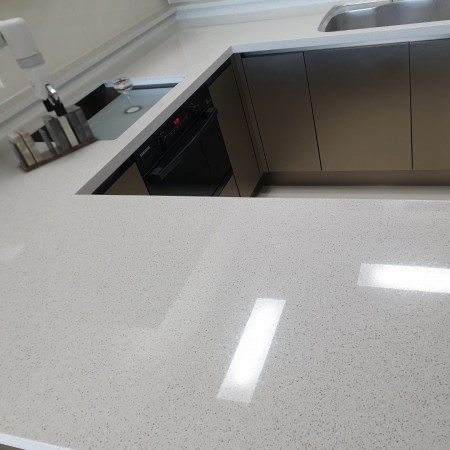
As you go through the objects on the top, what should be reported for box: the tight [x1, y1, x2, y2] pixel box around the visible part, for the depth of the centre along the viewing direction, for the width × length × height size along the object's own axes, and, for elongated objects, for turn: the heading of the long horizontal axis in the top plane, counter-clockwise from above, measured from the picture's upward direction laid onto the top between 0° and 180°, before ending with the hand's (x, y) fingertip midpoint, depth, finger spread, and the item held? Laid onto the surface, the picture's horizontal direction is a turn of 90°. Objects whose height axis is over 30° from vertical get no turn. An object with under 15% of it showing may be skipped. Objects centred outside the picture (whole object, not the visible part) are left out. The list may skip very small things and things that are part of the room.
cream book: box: [51, 114, 78, 147], centre depth 156 cm, size 2×6×10 cm, turn 44°
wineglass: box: [112, 76, 140, 113], centre depth 178 cm, size 7×7×12 cm
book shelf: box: [7, 104, 98, 172], centre depth 154 cm, size 24×8×12 cm, turn 134°
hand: (57, 113), depth 153 cm, fingers open, 9 cm apart
